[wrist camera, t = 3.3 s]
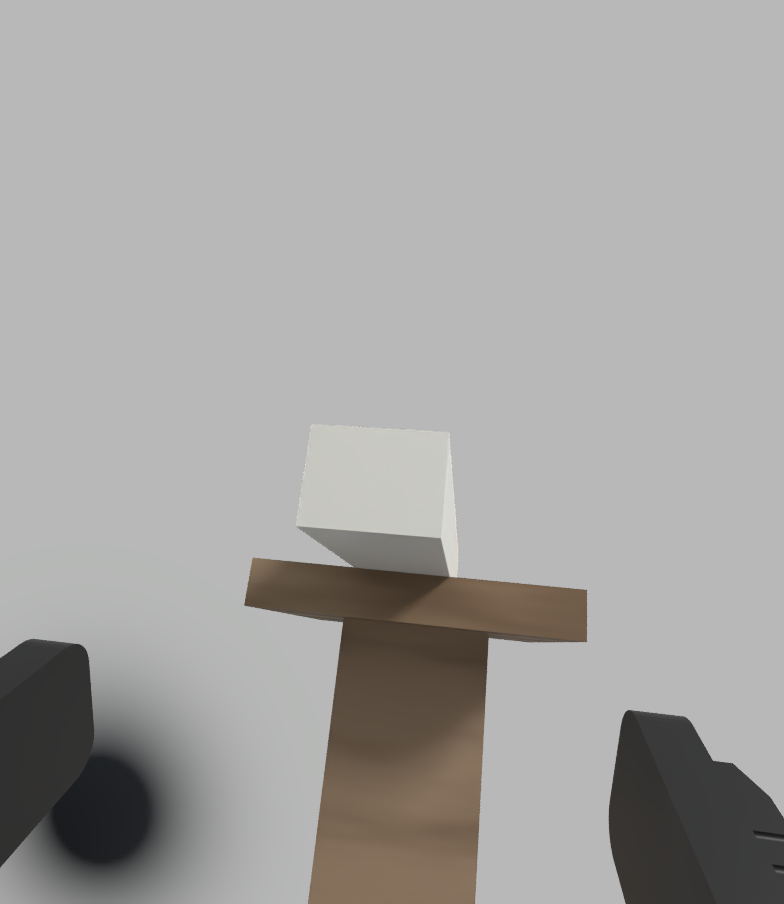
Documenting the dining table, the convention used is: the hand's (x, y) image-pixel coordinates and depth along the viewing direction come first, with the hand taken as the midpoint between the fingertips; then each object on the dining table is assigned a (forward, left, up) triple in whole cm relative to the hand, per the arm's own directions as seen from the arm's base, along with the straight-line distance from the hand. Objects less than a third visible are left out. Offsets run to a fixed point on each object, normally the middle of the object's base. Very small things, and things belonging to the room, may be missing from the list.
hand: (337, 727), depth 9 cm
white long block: (-6, -18, +4) cm, 20 cm away
